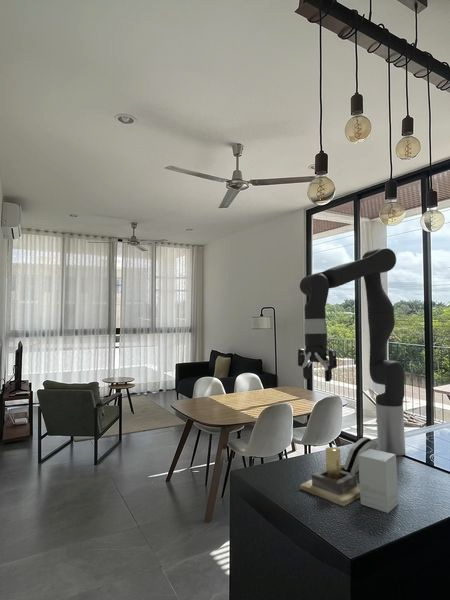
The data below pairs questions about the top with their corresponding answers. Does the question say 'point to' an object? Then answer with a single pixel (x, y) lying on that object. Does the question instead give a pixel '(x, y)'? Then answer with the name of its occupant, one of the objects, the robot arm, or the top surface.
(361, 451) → the white black curved block
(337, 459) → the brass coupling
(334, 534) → the top surface
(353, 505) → the top surface
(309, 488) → the socket board
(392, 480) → the supplement box
